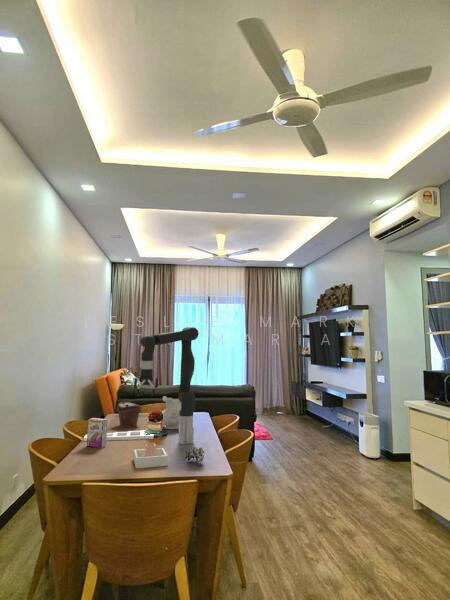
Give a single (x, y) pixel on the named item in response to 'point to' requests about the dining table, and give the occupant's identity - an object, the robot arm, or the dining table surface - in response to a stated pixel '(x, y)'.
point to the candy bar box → (97, 432)
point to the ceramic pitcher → (171, 413)
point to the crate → (150, 458)
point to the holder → (126, 435)
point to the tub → (150, 450)
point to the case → (128, 414)
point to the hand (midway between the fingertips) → (145, 395)
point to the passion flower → (195, 454)
